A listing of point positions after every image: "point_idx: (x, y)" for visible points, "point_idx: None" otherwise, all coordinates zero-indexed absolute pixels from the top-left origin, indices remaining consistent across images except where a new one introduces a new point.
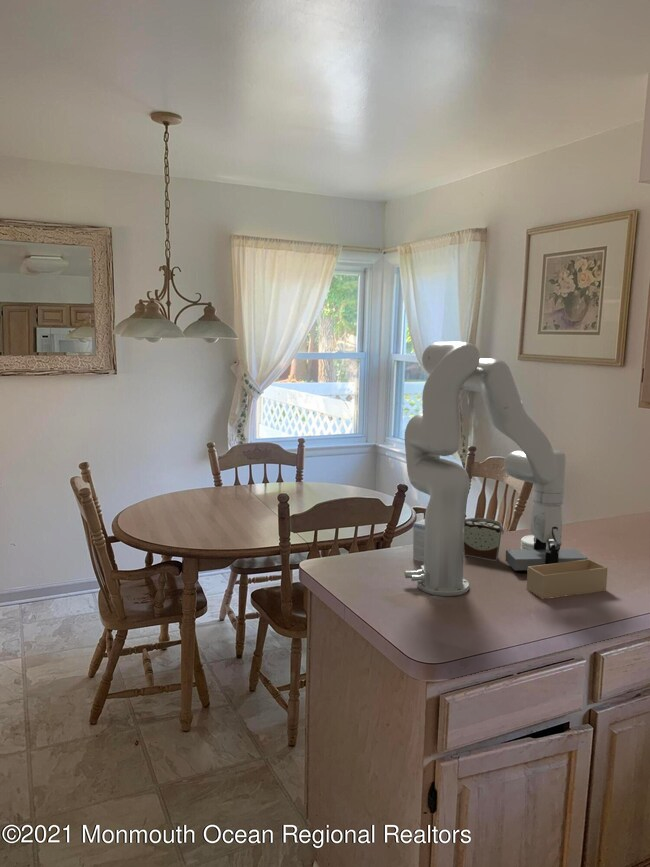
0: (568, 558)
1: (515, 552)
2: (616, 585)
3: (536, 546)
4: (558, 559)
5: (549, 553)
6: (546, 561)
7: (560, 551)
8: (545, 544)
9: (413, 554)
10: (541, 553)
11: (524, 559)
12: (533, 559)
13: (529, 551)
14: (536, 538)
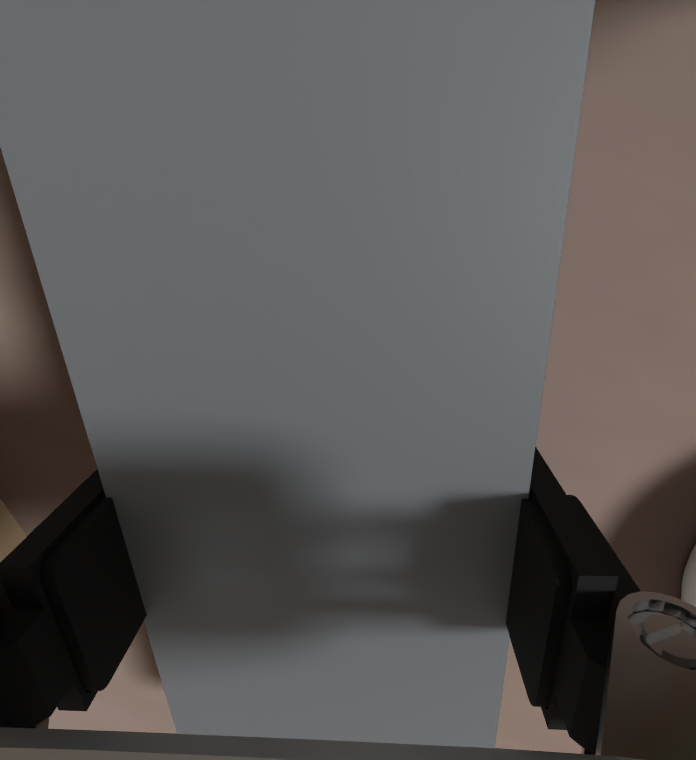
0: (171, 709)
1: (399, 82)
2: None
3: (536, 552)
4: (151, 619)
5: (19, 598)
6: (92, 480)
7: (410, 725)
8: (527, 692)
9: None
10: (337, 521)
11: (10, 155)
12: (61, 323)
13: (440, 387)
14: (608, 700)
